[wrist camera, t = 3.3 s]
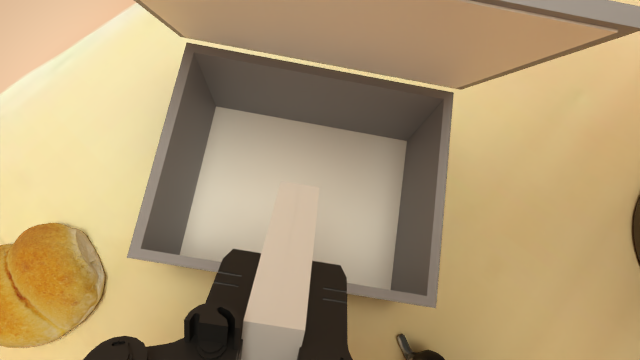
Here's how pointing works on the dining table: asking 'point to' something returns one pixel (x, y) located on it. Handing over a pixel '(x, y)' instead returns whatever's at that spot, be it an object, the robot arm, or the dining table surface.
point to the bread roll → (47, 284)
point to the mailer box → (300, 169)
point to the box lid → (406, 32)
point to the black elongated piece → (413, 359)
